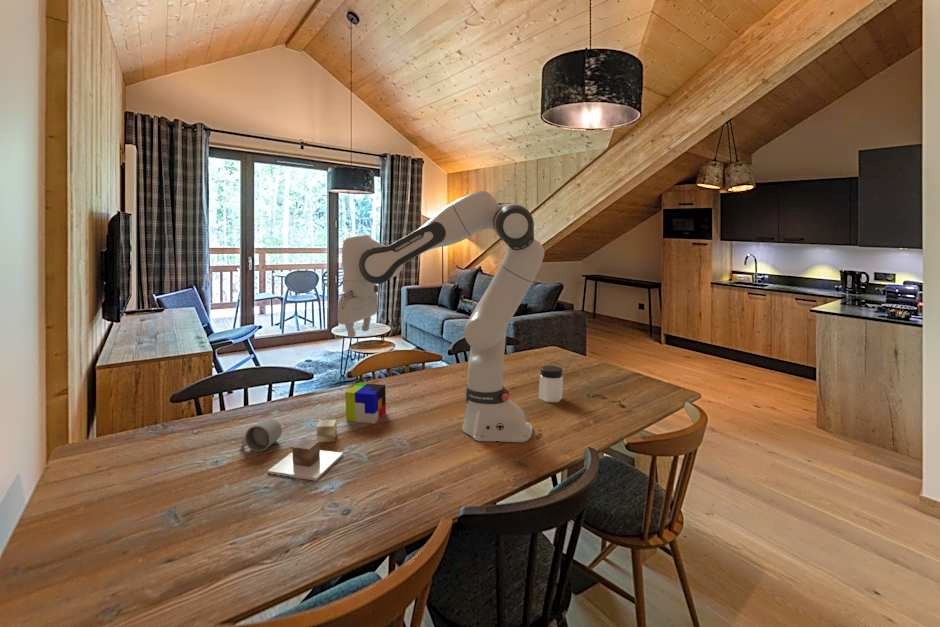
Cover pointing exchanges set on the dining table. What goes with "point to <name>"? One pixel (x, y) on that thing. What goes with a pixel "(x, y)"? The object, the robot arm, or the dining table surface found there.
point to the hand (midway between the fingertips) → (358, 333)
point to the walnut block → (306, 452)
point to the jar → (551, 384)
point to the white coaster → (304, 472)
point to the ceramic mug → (262, 435)
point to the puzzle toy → (365, 402)
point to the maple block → (326, 430)
